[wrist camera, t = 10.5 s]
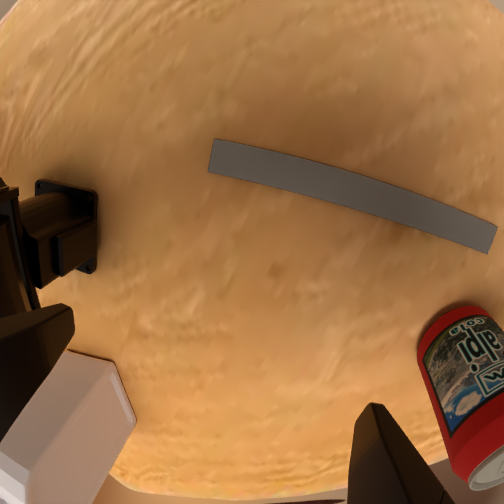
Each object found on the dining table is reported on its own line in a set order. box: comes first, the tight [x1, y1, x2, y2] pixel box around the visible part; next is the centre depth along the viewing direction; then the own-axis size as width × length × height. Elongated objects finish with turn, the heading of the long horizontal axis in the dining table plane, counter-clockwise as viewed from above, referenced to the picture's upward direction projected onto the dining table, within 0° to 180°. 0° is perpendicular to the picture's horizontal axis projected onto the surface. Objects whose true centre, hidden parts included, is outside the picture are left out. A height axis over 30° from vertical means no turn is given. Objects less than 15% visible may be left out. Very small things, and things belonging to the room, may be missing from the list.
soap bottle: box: [0, 351, 136, 504], centre depth 17 cm, size 9×7×23 cm
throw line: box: [208, 139, 498, 254], centre depth 17 cm, size 19×2×1 cm, turn 78°
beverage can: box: [417, 306, 504, 491], centre depth 14 cm, size 7×7×12 cm
